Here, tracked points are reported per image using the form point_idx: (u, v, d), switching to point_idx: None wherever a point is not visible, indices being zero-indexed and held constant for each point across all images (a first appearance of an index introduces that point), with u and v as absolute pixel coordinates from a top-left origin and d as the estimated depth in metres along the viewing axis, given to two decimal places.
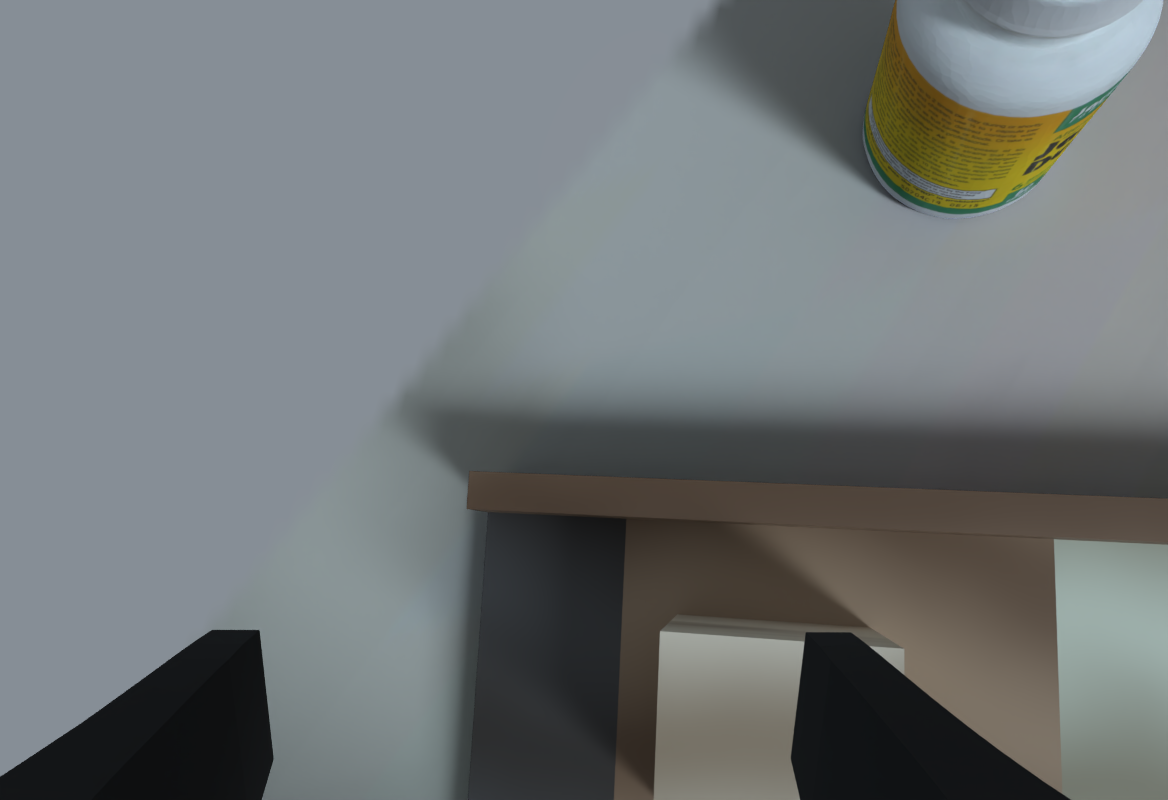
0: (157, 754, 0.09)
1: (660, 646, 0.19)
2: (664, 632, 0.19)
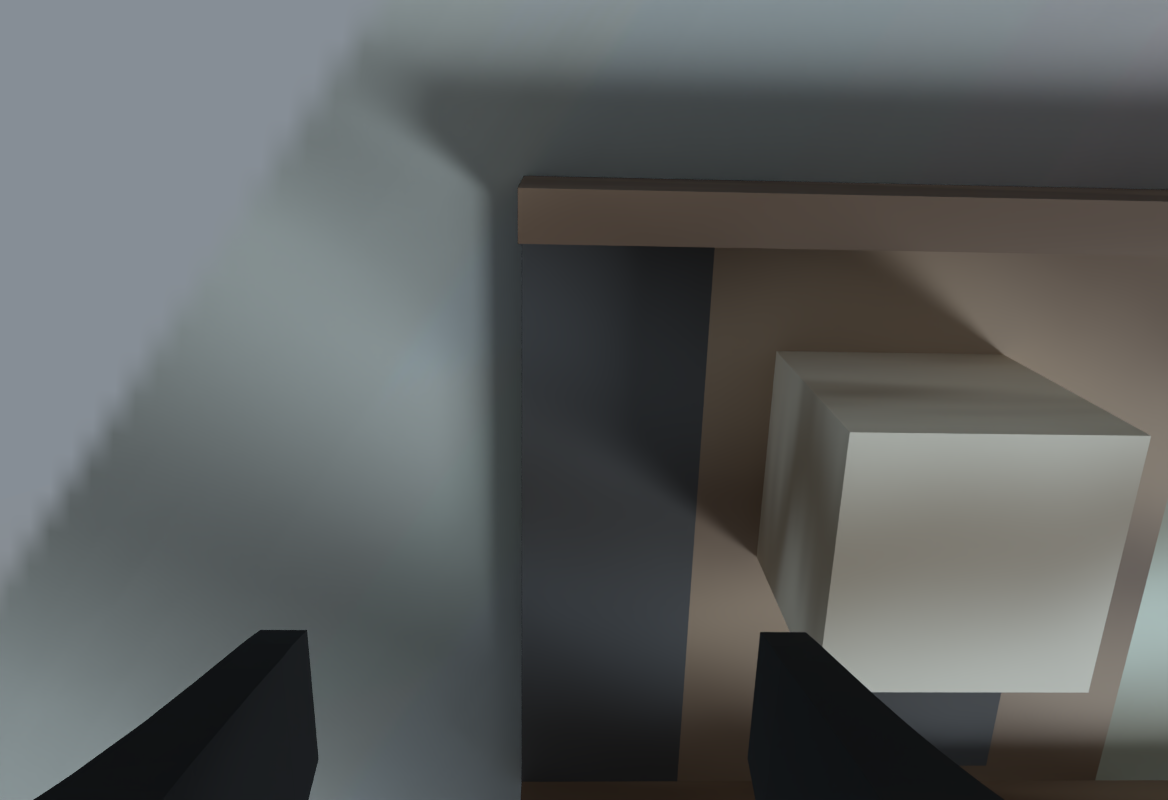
0: (218, 754, 0.09)
1: (847, 449, 0.14)
2: (855, 433, 0.14)
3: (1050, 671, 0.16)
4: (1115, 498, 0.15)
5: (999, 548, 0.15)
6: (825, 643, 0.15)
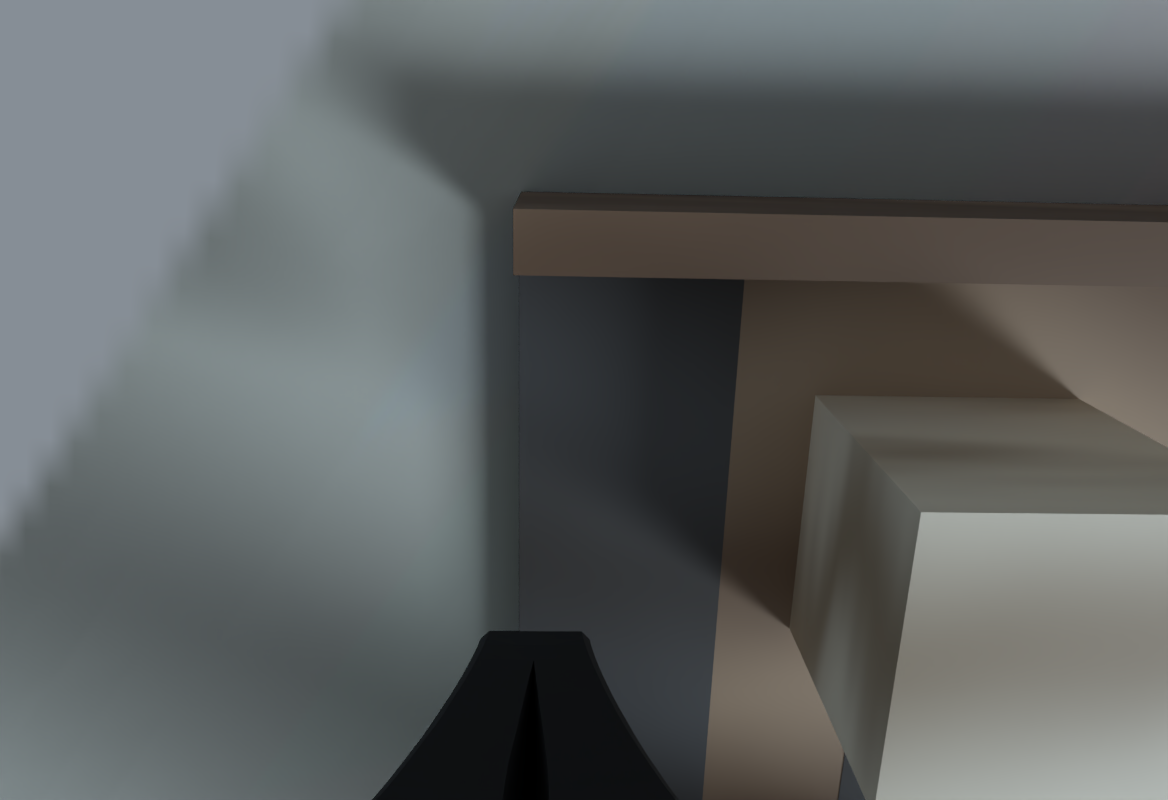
0: (515, 754, 0.09)
1: (917, 532, 0.12)
2: (927, 513, 0.11)
3: (1155, 792, 0.13)
4: None
5: (1100, 648, 0.12)
6: (885, 760, 0.13)
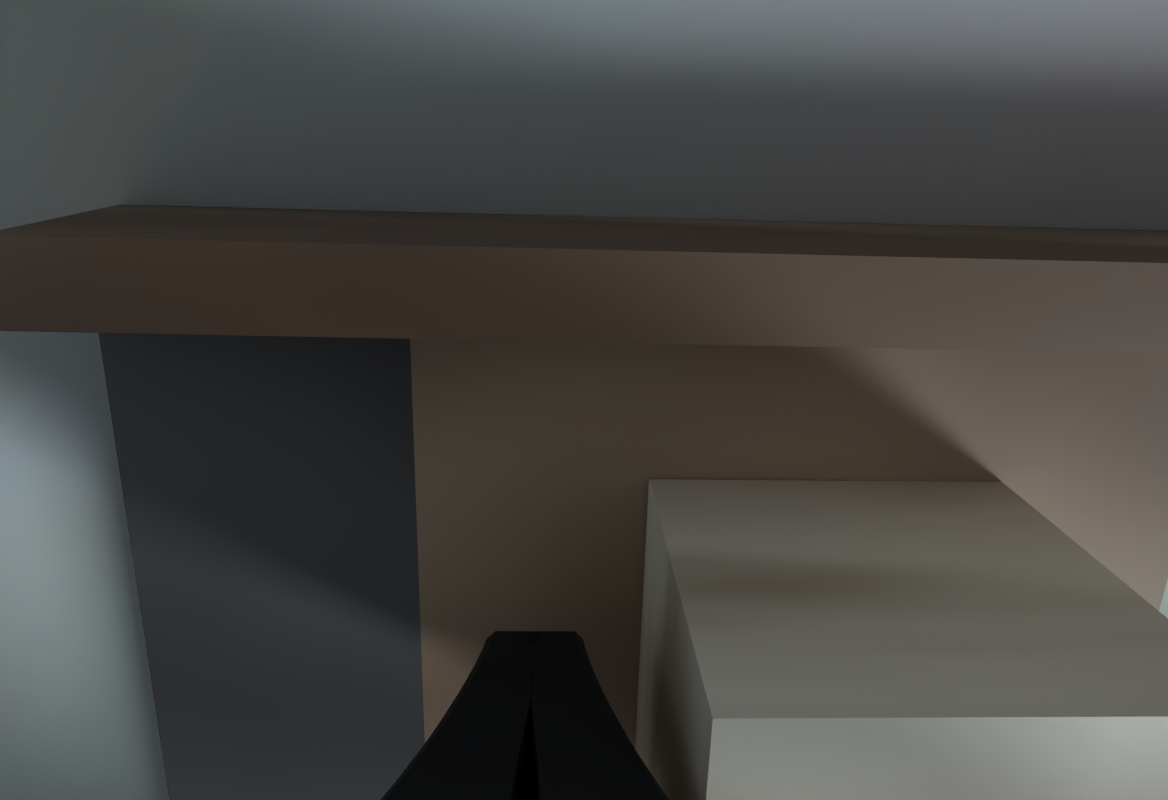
0: (522, 754, 0.09)
1: (711, 746, 0.07)
2: (723, 719, 0.07)
3: None
4: None
5: None
6: None
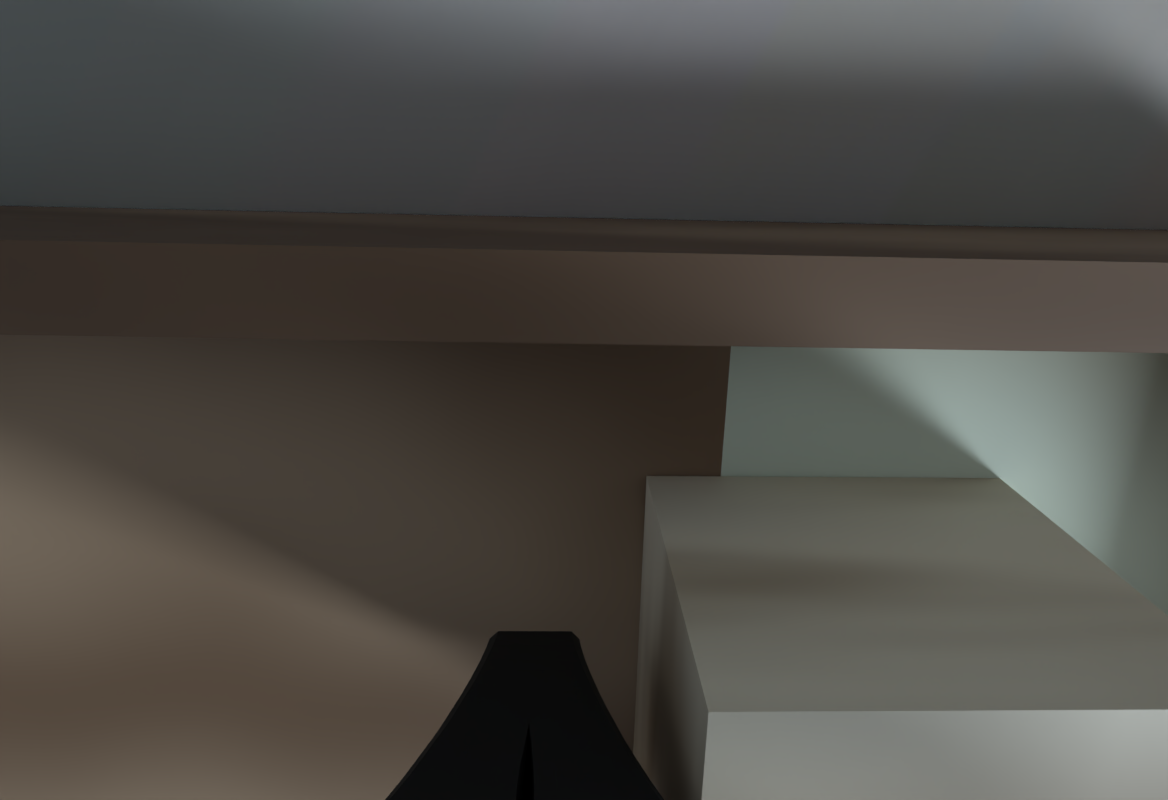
0: (526, 754, 0.09)
1: (707, 739, 0.07)
2: (719, 713, 0.07)
3: None
4: None
5: None
6: None
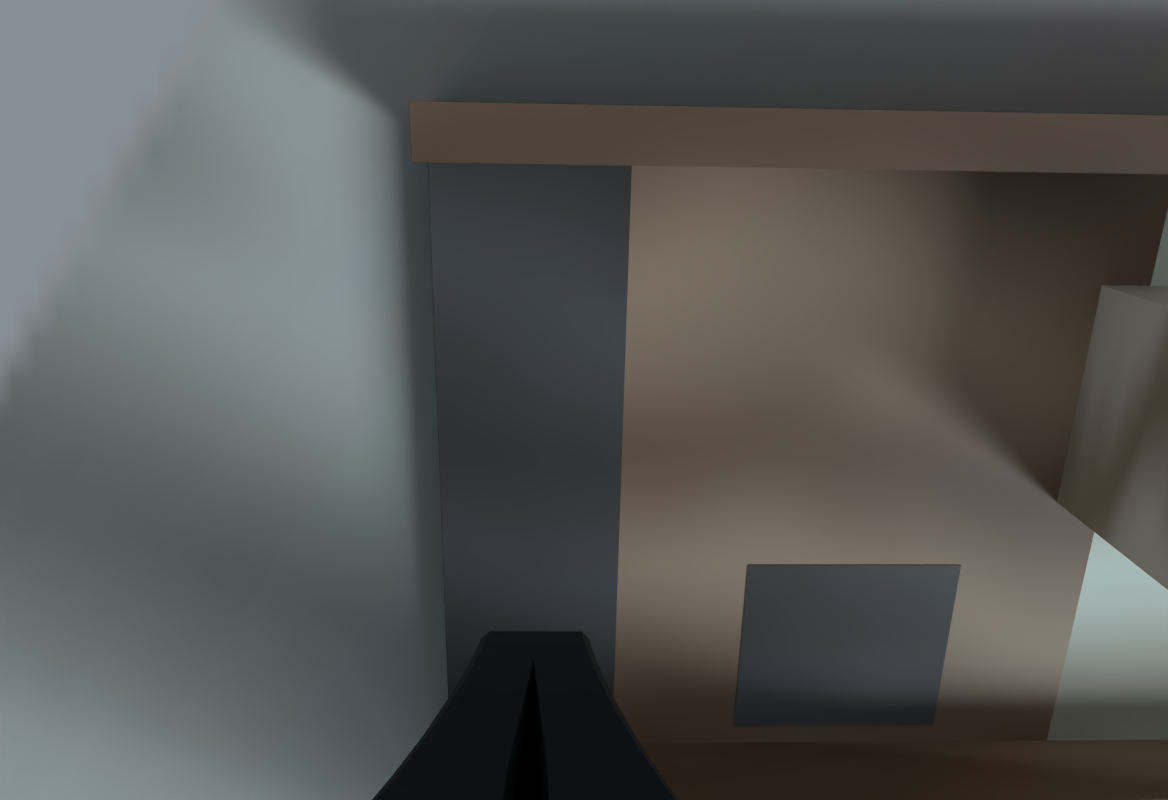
0: (515, 754, 0.09)
1: None
2: None
3: None
4: None
5: None
6: None
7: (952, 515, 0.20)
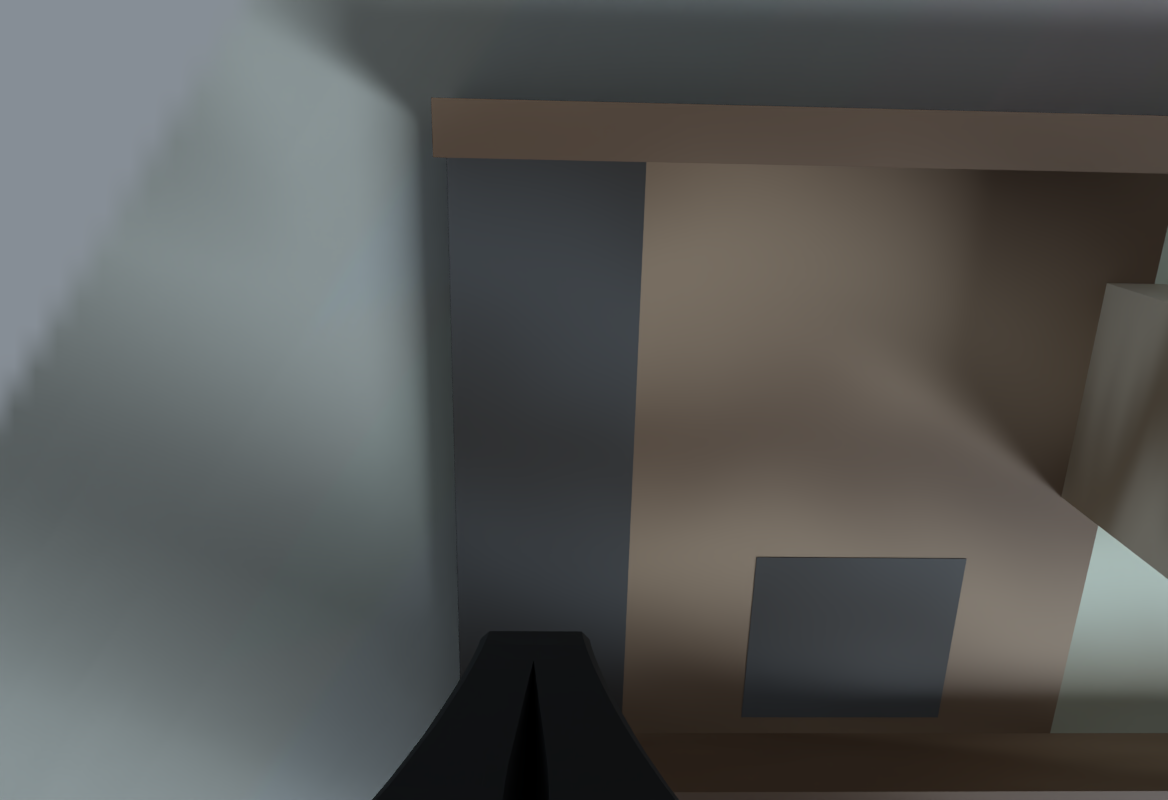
0: (515, 754, 0.09)
1: None
2: None
3: None
4: None
5: None
6: None
7: (958, 509, 0.20)
